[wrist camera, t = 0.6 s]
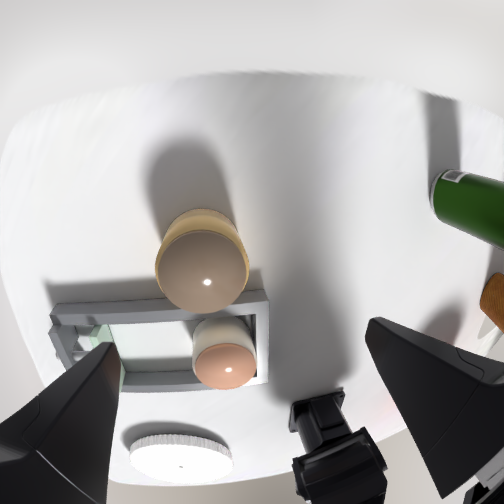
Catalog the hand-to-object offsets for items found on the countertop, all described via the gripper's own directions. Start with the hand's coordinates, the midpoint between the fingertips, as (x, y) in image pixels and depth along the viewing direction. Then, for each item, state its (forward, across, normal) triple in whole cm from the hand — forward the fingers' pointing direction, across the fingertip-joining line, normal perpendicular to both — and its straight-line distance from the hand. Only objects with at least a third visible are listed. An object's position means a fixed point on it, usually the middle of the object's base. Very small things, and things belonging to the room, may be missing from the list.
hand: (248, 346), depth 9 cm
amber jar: (+12, +2, +1) cm, 12 cm away
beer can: (+12, -21, -4) cm, 25 cm away
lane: (+12, +6, +9) cm, 16 cm away
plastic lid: (+13, +8, +30) cm, 34 cm away
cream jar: (+12, 0, +9) cm, 15 cm away
